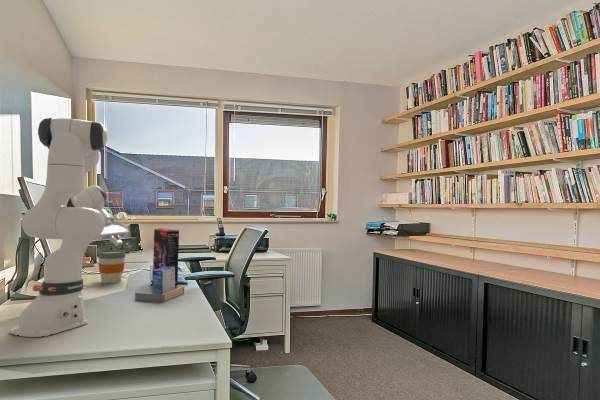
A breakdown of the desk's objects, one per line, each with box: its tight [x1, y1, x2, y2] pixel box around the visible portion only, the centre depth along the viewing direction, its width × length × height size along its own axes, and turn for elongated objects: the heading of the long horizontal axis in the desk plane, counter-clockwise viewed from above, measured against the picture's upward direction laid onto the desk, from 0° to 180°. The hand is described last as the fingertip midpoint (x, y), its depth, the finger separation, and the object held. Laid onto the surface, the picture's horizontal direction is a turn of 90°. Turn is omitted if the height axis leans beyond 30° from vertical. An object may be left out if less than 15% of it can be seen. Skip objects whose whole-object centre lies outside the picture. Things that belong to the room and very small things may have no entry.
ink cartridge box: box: [152, 263, 175, 294], centre depth 177 cm, size 10×6×14 cm, turn 167°
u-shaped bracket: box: [134, 285, 185, 303], centre depth 177 cm, size 17×13×3 cm
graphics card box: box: [152, 227, 180, 286], centre depth 201 cm, size 17×7×27 cm, turn 40°
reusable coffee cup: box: [97, 249, 126, 284], centre depth 206 cm, size 13×13×15 cm
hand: (119, 244), depth 181 cm, fingers closed
